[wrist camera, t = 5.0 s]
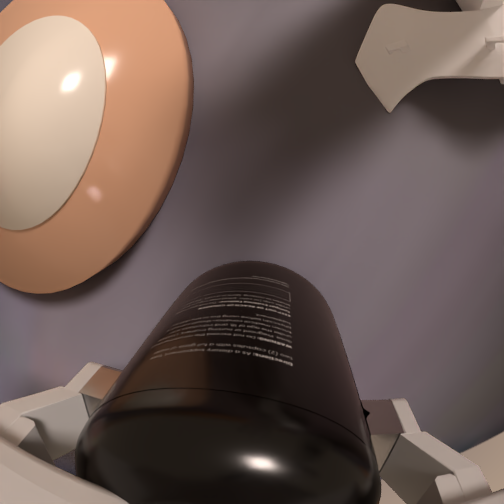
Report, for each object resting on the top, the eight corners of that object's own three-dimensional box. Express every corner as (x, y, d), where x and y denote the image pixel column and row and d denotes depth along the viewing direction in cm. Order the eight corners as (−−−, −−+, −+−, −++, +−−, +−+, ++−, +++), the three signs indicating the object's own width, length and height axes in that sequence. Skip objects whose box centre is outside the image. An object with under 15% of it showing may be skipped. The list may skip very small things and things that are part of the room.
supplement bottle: (153, 352, 14) (9, 571, 2) (219, 223, 12) (-79, 504, 1) (280, 417, 14) (261, 655, 3) (368, 310, 12) (497, 603, 1)
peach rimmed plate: (214, -47, 9) (207, -68, 8) (184, 306, 13) (171, 324, 11) (-17, 26, 10) (-34, 21, 9) (-36, 263, 14) (-54, 270, 13)
